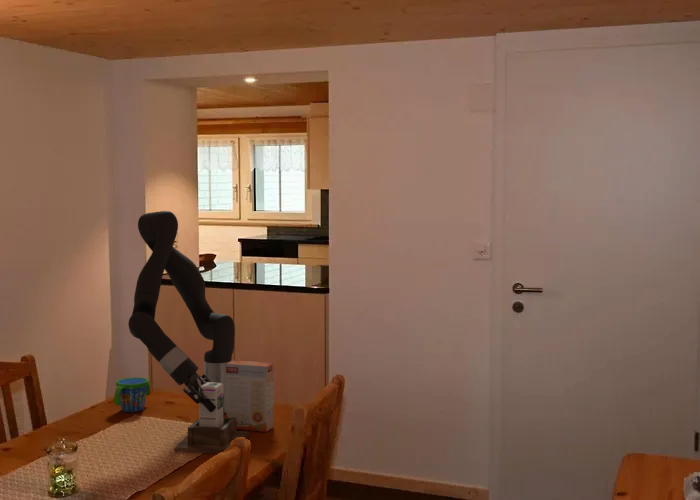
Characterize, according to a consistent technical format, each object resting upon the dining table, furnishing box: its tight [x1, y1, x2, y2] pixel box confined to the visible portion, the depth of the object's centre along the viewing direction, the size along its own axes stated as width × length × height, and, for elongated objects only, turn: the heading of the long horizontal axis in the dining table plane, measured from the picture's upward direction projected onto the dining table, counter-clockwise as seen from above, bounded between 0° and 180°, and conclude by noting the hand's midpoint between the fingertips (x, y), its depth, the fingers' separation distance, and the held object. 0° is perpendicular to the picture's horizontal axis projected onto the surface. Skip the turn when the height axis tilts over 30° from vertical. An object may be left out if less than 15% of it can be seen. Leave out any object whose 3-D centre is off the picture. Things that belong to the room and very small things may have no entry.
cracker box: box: [226, 360, 275, 433], centre depth 236 cm, size 14×6×21 cm, turn 71°
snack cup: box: [113, 377, 151, 413], centre depth 256 cm, size 16×10×10 cm
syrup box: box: [198, 382, 225, 428], centre depth 221 cm, size 6×6×14 cm
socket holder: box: [173, 417, 249, 455], centre depth 222 cm, size 17×17×6 cm
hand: (217, 407), depth 221 cm, fingers closed on syrup box, 6 cm apart
